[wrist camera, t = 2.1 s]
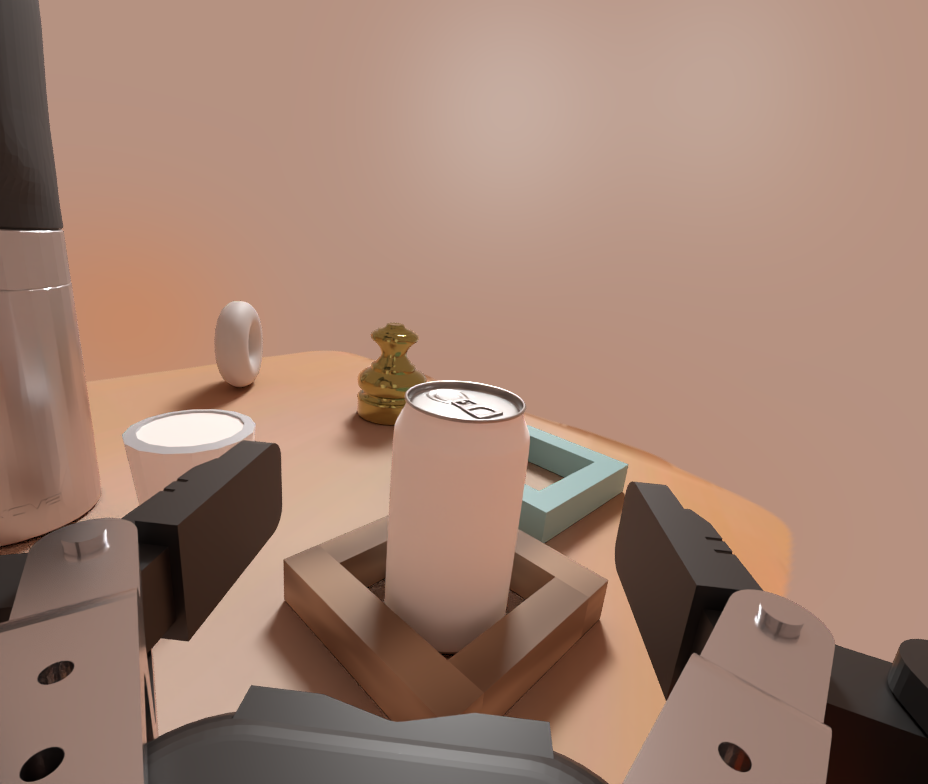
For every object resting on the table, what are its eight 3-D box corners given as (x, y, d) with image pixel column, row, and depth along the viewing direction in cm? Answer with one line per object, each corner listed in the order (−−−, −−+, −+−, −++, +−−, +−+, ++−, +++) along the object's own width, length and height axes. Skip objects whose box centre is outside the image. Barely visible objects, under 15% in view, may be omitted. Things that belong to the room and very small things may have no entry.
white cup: (141, 511, 32) (129, 411, 30) (254, 494, 35) (250, 403, 33) (128, 576, 26) (112, 458, 24) (264, 550, 29) (261, 444, 27)
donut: (238, 373, 62) (234, 294, 59) (267, 374, 63) (264, 296, 60) (212, 398, 53) (206, 306, 50) (246, 399, 53) (242, 308, 50)
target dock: (421, 476, 40) (423, 449, 39) (511, 443, 49) (514, 420, 48) (541, 545, 32) (546, 512, 32) (622, 491, 41) (628, 464, 40)
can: (453, 556, 30) (471, 373, 27) (529, 621, 26) (564, 409, 22) (360, 598, 26) (368, 386, 23) (432, 683, 22) (456, 435, 18)
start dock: (284, 599, 26) (283, 559, 25) (446, 521, 34) (449, 489, 33) (441, 776, 18) (447, 726, 17) (599, 618, 26) (608, 580, 26)
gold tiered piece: (414, 402, 58) (420, 318, 55) (432, 425, 51) (440, 332, 48) (352, 403, 55) (354, 316, 52) (362, 428, 49) (365, 330, 46)
